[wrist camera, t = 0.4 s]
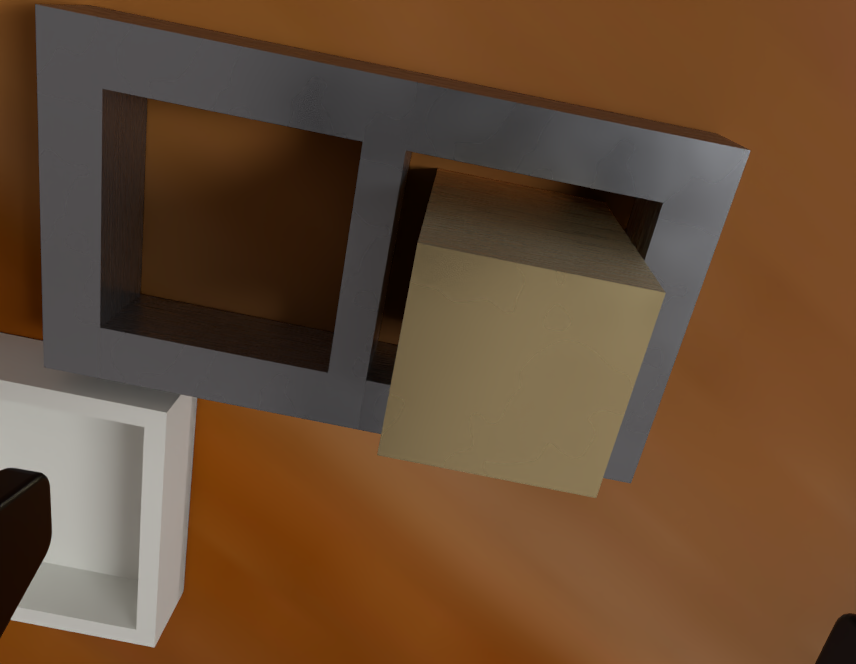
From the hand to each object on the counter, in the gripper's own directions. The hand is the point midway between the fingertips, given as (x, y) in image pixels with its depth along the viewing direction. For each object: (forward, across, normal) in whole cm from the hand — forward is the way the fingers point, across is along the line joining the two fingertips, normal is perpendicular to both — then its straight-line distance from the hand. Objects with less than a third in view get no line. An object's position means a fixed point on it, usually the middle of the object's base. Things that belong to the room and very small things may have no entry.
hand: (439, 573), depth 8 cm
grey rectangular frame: (+13, +2, 0) cm, 13 cm away
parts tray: (+13, +12, +10) cm, 20 cm away
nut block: (+13, -1, 0) cm, 13 cm away
